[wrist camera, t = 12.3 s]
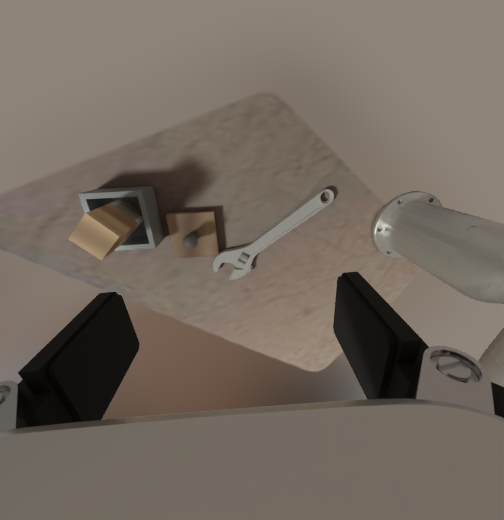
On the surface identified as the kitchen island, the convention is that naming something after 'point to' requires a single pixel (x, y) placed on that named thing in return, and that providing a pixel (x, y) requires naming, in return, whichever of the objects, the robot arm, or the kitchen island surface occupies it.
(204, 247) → the stud plate
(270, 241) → the adjustable wrench
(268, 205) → the kitchen island surface
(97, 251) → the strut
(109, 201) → the bin
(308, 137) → the kitchen island surface
